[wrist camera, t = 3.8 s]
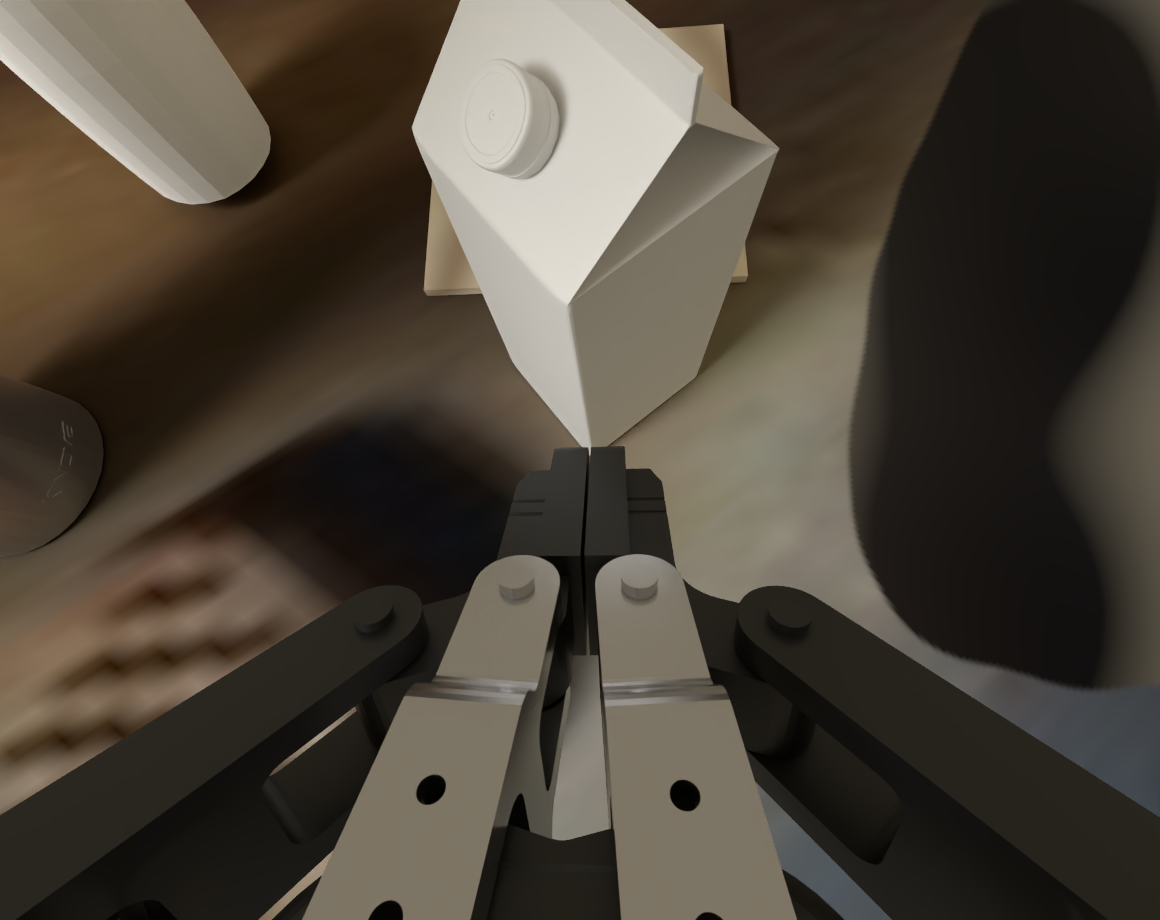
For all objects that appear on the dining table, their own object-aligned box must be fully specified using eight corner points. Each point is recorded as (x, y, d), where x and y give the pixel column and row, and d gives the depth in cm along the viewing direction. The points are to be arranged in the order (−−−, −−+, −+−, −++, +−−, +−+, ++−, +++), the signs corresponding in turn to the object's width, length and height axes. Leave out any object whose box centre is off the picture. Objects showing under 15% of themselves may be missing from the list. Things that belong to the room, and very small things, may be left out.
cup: (147, 144, 35) (-157, -150, 21) (267, 95, 35) (45, -225, 22) (176, 244, 33) (-142, -12, 19) (303, 189, 33) (82, -99, 19)
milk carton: (612, 288, 30) (606, -204, 12) (696, 378, 28) (846, -30, 10) (511, 363, 29) (333, -36, 11) (591, 460, 27) (543, 183, 9)
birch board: (427, 295, 31) (423, 290, 30) (445, 53, 35) (442, 44, 34) (745, 282, 29) (748, 275, 29) (721, 33, 34) (723, 24, 33)
